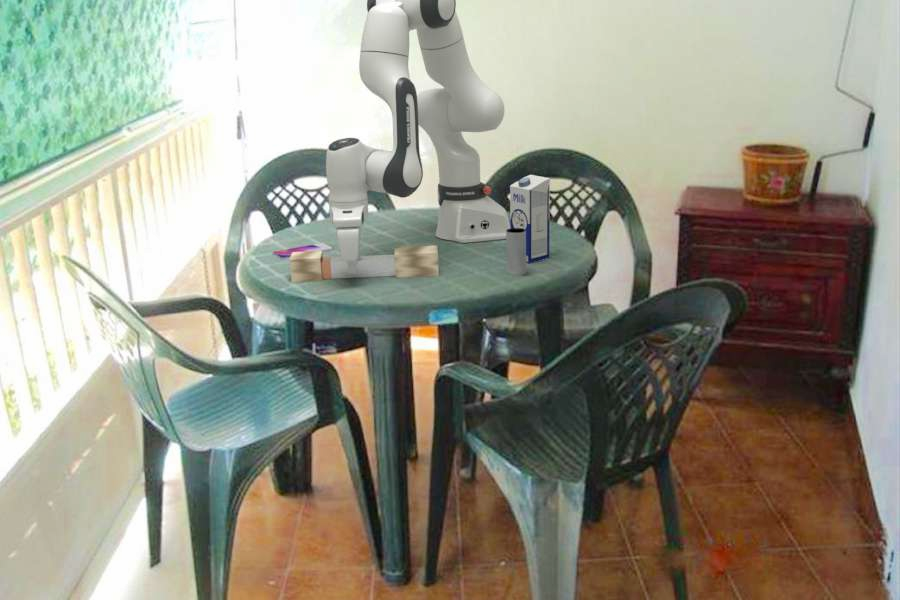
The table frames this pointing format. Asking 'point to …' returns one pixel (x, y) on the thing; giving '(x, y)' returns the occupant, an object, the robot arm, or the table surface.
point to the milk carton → (532, 214)
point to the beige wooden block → (306, 266)
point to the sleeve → (416, 261)
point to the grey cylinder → (516, 251)
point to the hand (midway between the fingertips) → (353, 269)
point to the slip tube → (359, 267)
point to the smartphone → (303, 250)
